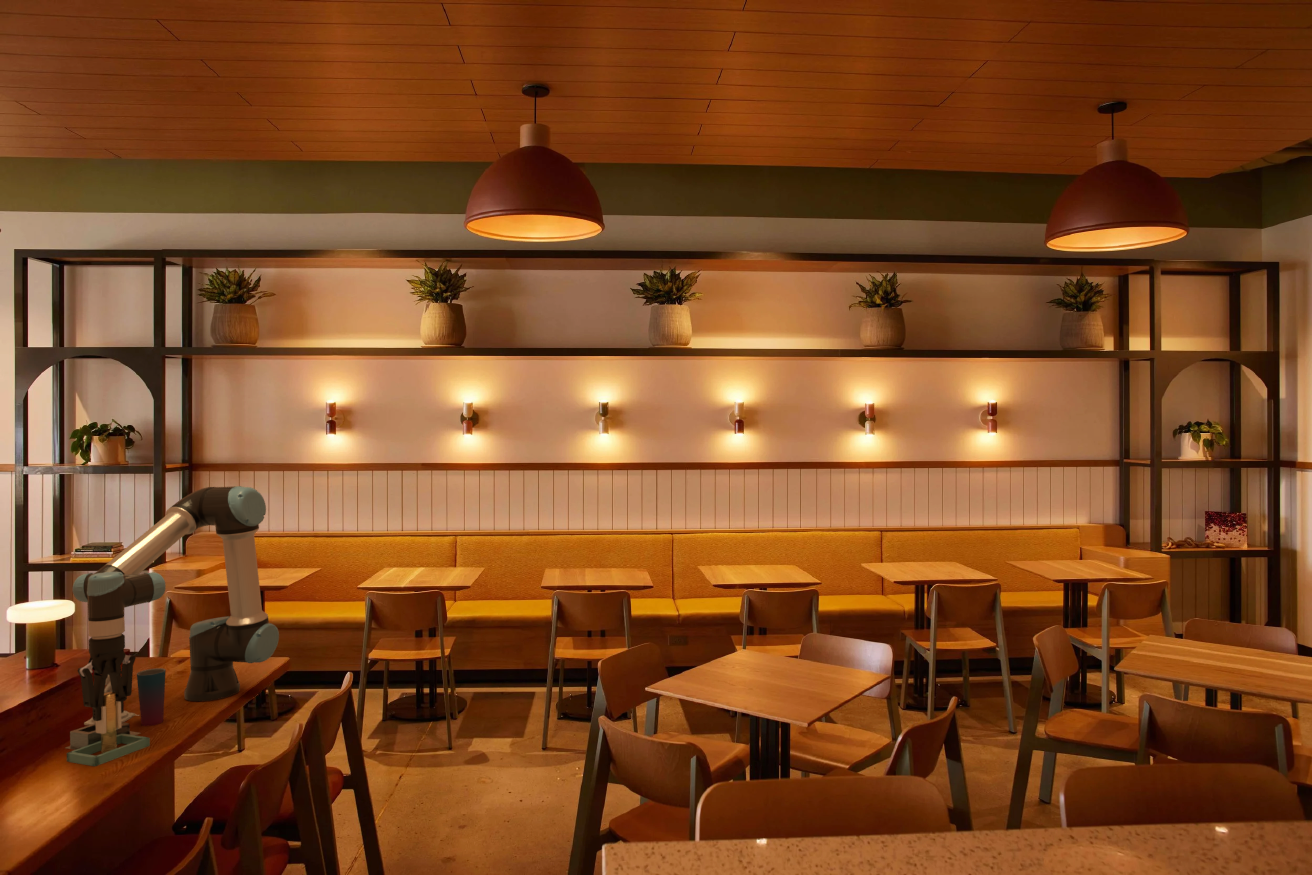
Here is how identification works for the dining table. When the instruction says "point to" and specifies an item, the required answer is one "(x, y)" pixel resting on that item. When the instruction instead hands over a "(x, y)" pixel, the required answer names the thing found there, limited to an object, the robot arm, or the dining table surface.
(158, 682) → the cup
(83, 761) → the tray
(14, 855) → the dining table surface
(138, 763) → the dining table surface
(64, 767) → the dining table surface
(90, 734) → the tensioner
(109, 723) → the pin
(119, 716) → the robot arm
